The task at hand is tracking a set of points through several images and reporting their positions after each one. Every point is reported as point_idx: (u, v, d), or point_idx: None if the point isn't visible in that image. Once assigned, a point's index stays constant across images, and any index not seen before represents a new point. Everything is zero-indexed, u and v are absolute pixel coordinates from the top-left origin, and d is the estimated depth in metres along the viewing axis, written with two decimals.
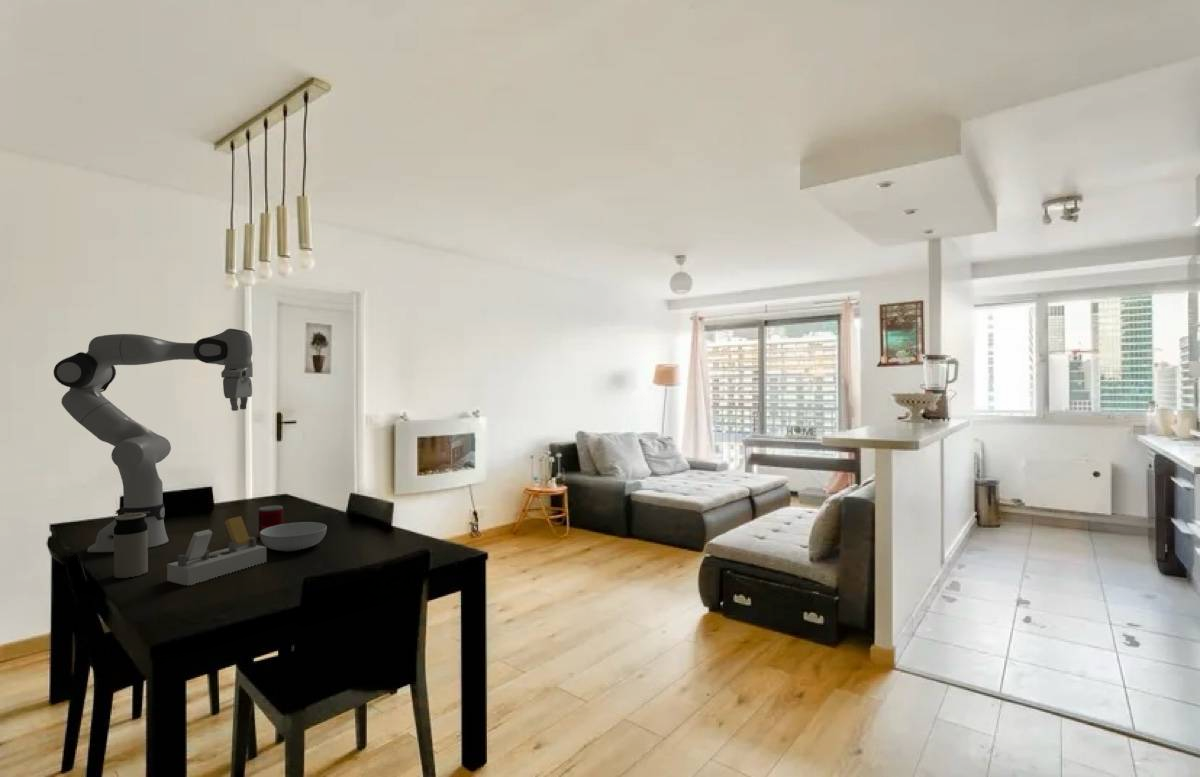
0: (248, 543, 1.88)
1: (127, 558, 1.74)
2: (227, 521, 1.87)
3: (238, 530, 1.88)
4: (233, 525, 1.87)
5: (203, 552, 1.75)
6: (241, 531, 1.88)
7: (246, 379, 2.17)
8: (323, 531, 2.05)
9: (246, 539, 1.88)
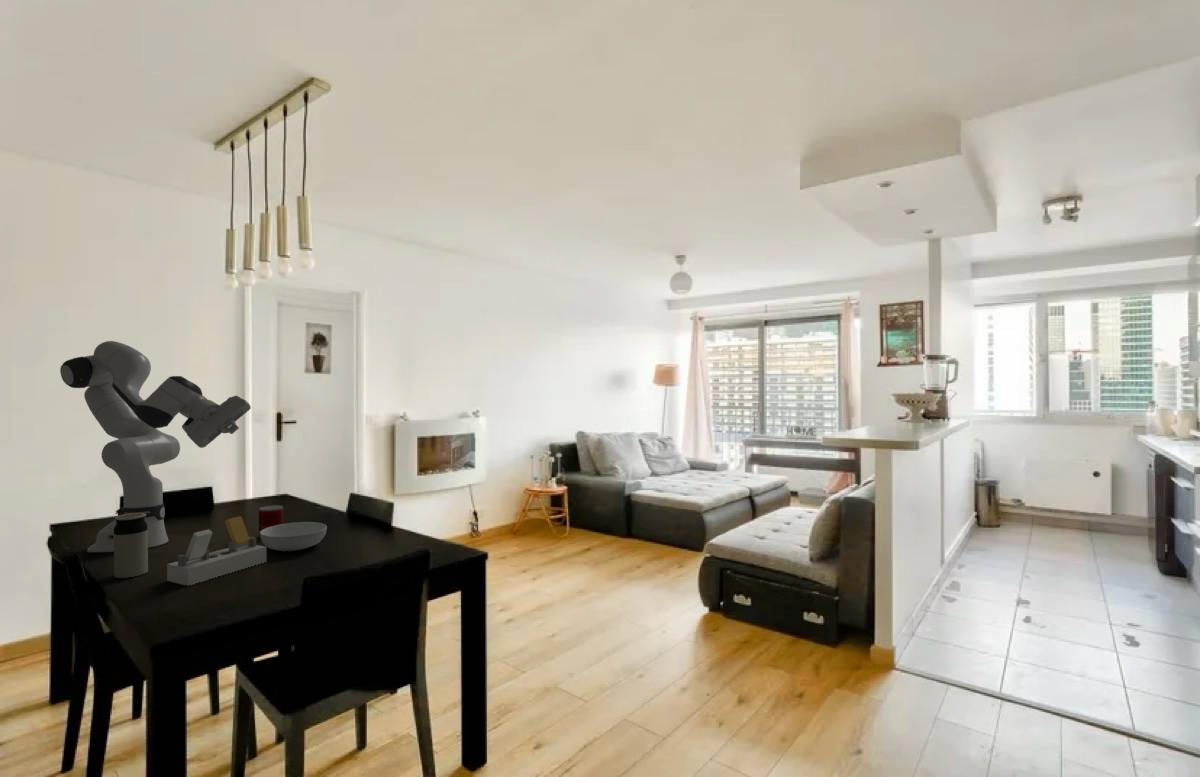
0: (248, 543, 1.88)
1: (127, 558, 1.74)
2: (227, 521, 1.87)
3: (238, 530, 1.88)
4: (233, 525, 1.87)
5: (203, 552, 1.75)
6: (241, 531, 1.88)
7: (205, 414, 1.96)
8: (323, 531, 2.05)
9: (246, 539, 1.88)
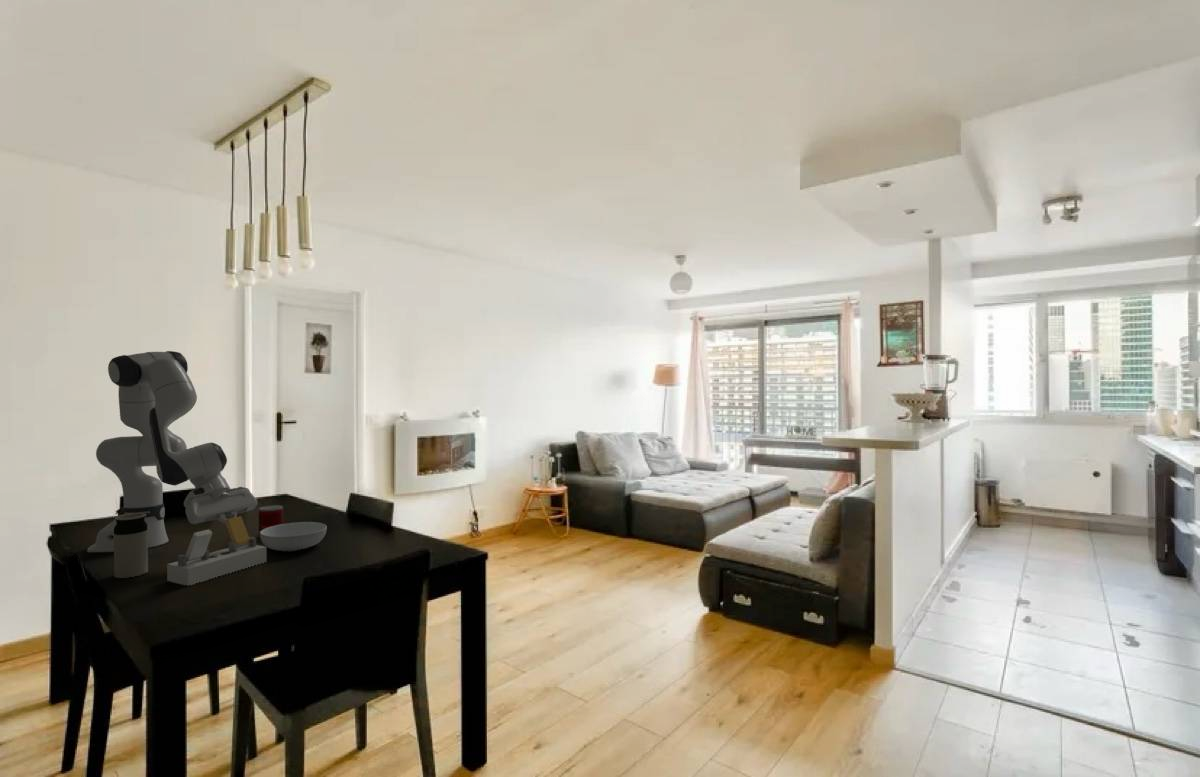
0: (248, 543, 1.88)
1: (127, 558, 1.74)
2: (227, 521, 1.87)
3: (238, 530, 1.88)
4: (233, 525, 1.87)
5: (203, 552, 1.75)
6: (241, 531, 1.88)
7: (216, 493, 1.91)
8: (323, 531, 2.05)
9: (246, 539, 1.88)
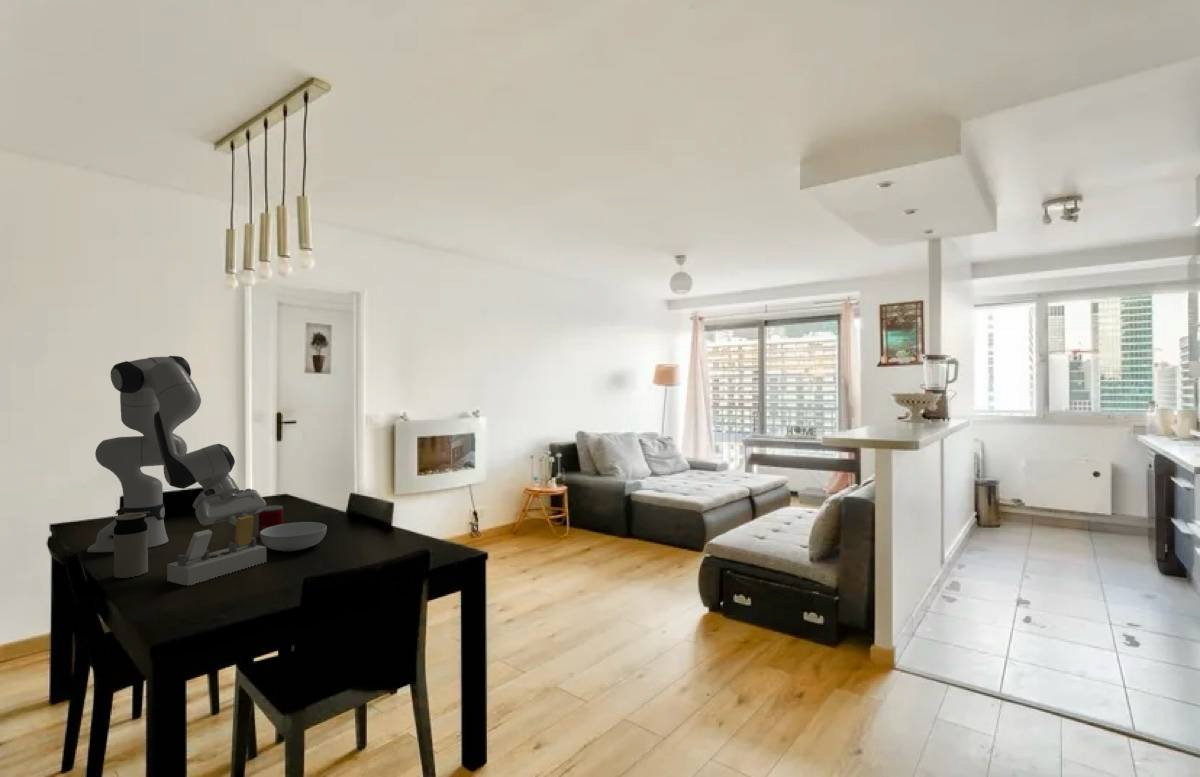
0: (248, 544, 1.88)
1: (127, 558, 1.74)
2: (239, 520, 1.84)
3: (245, 532, 1.86)
4: (243, 526, 1.85)
5: (203, 552, 1.75)
6: (247, 532, 1.87)
7: (226, 495, 1.89)
8: (323, 531, 2.05)
9: (248, 541, 1.88)
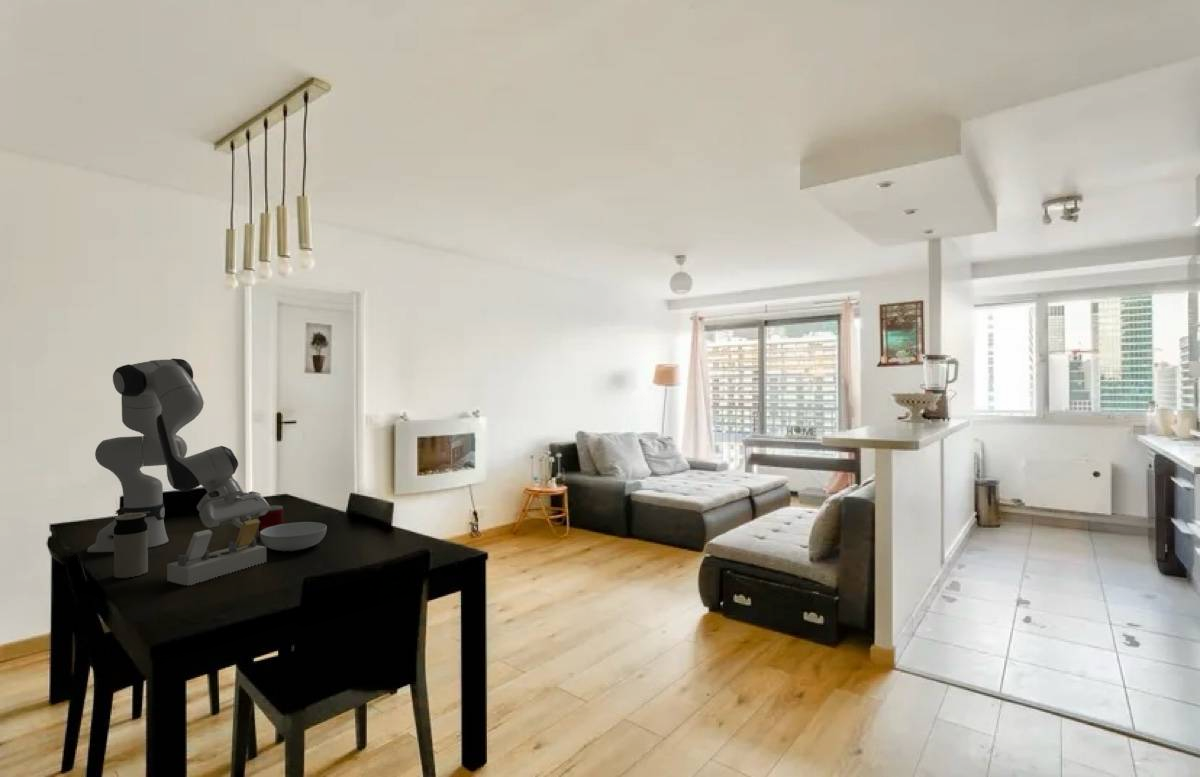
0: None
1: (127, 558, 1.74)
2: (245, 525, 1.83)
3: (248, 535, 1.86)
4: (247, 530, 1.84)
5: (203, 552, 1.75)
6: (250, 535, 1.86)
7: (231, 497, 1.88)
8: (323, 531, 2.05)
9: (248, 542, 1.88)
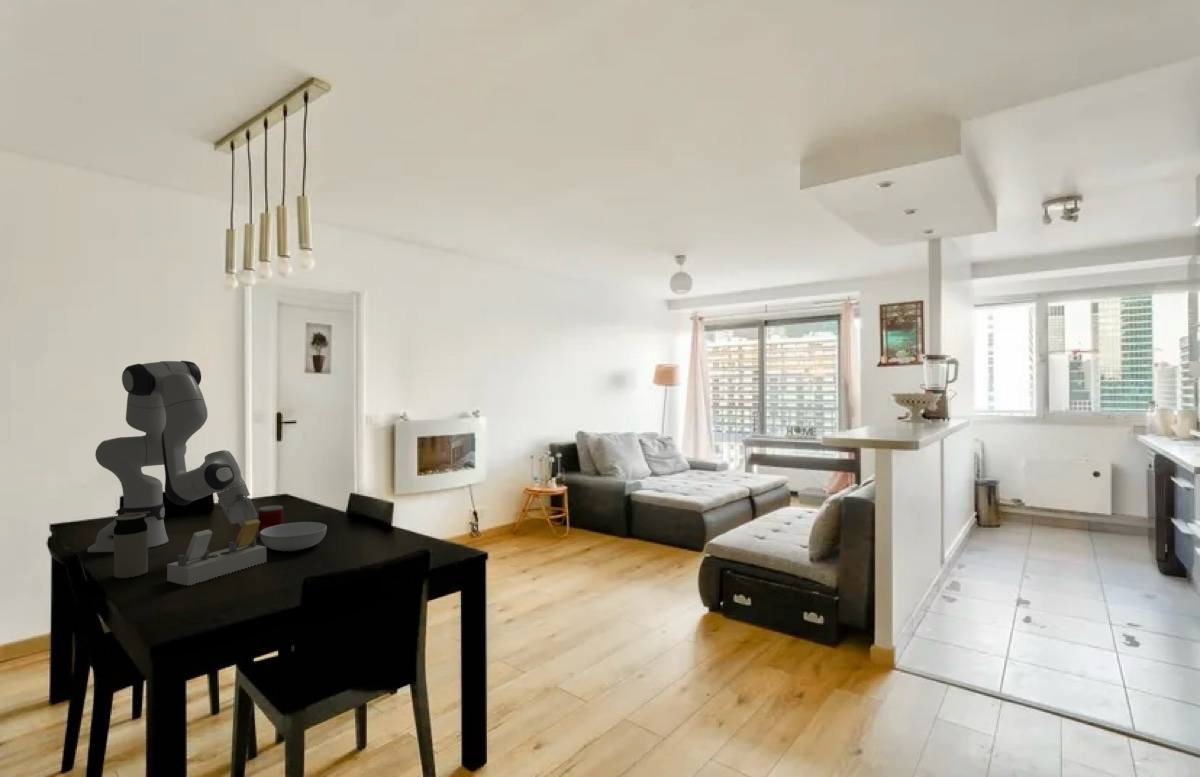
0: None
1: (127, 558, 1.74)
2: (245, 525, 1.83)
3: (248, 535, 1.86)
4: (247, 530, 1.84)
5: (203, 552, 1.75)
6: (250, 535, 1.86)
7: (226, 506, 1.99)
8: (323, 531, 2.05)
9: (248, 542, 1.88)
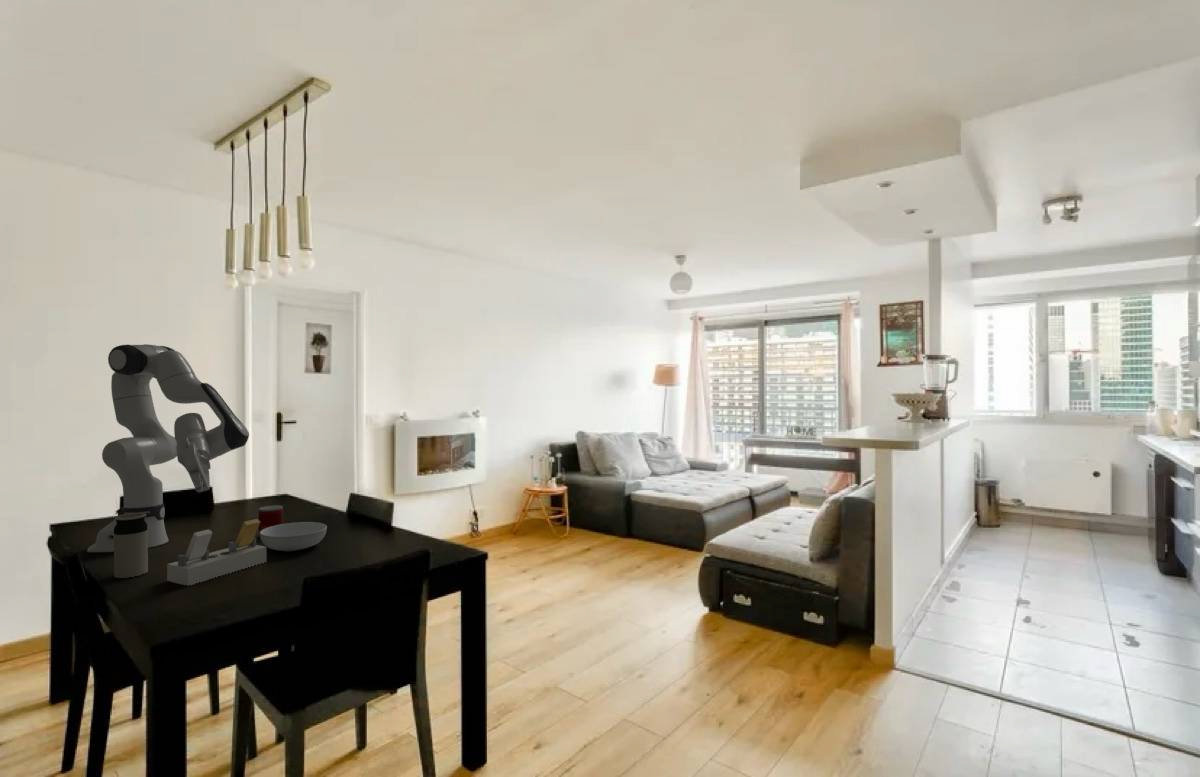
0: None
1: (127, 558, 1.74)
2: (245, 525, 1.83)
3: (248, 535, 1.86)
4: (247, 530, 1.84)
5: (203, 552, 1.75)
6: (250, 535, 1.86)
7: None
8: (323, 531, 2.05)
9: (248, 542, 1.88)
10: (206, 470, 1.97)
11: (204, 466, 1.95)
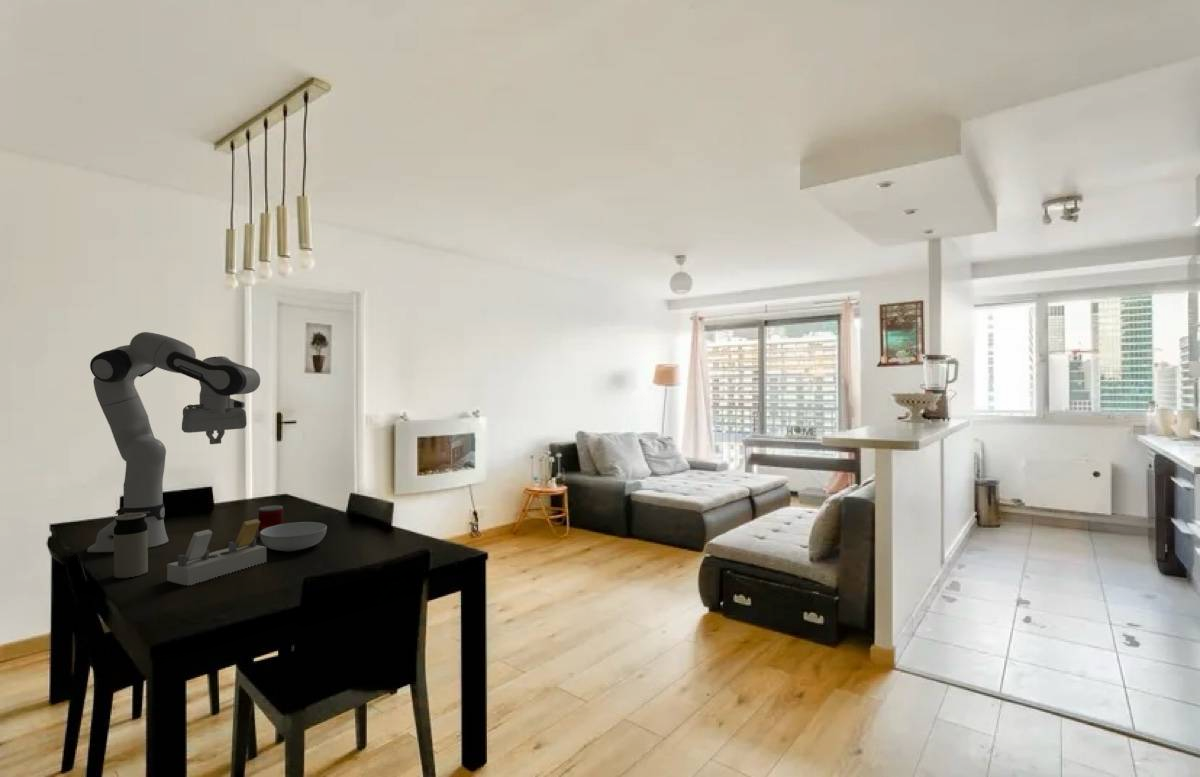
0: None
1: (127, 558, 1.74)
2: (245, 525, 1.83)
3: (248, 535, 1.86)
4: (247, 530, 1.84)
5: (203, 552, 1.75)
6: (250, 535, 1.86)
7: None
8: (323, 531, 2.05)
9: (248, 542, 1.88)
10: (237, 412, 2.06)
11: (230, 412, 2.04)
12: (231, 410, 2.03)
